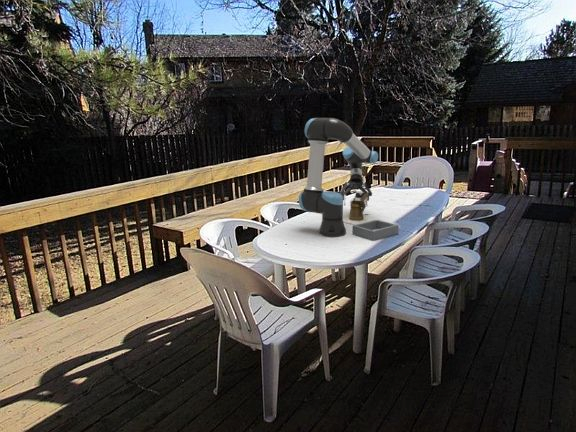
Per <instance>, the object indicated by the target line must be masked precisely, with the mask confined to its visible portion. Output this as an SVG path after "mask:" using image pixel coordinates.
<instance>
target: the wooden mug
mask: <svg viewBox="0 0 576 432" xmlns="http://www.w3.org/2000/svg"><path fill="white" fill-rule="evenodd" d="M367 197H368V193H365V194H364V195H363V196H362V197H361V199H360V201H351V200H350V201H351V204H349V205H350V208H349V210H350V212H349V215H348V216H349V219H350V220H362V219H363V218H364V217H365V216H364V214H363V213H364V211H365V209H366V206H365V203H364V200H365V199H366V198H367ZM363 216H364V217H363Z"/></svg>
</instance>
